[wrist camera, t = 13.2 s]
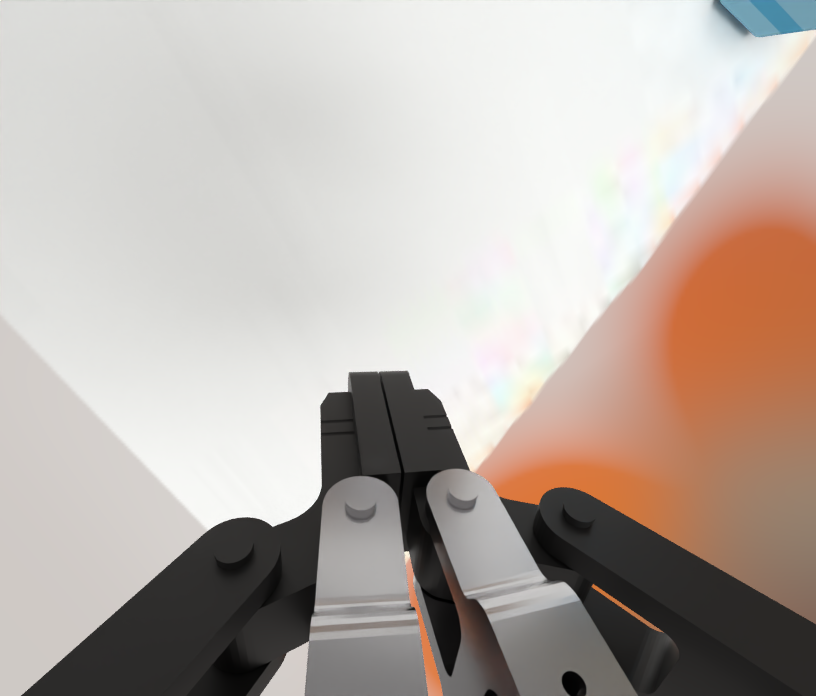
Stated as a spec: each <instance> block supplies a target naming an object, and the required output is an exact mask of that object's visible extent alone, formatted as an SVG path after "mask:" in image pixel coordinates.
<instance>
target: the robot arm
mask: <svg viewBox="0 0 816 696" xmlns="http://www.w3.org/2000/svg"><path fill="white" fill-rule="evenodd" d="M320 407H321V465H322V488H321V492H320V495H319V497H318V499H317V500H316V502H315V503H314V504H313V505H312V506H311V507H310V508H309V509H308V510H307V511H306V512H305V513H303V514H302V515H300V516H298V517H297V518H294V519H292V520H290V521H287V522H285V523H282V524H279V525H277V526H274V527H272V526H271V525H269V524H268V523H267V522H265V521H262V520H260V519H256V518H248V517H245V518H236V519H231V520H228V521H225V522H223V523H220V524H218V525H216V526H215V527H213V528H211V529H210V530H209V531H207V532H206V533H205V534H203V536H201V537H200V538H199V539H198V540H197V541H196V542H194V543H193V544H192V545H191V546H190V547H189V548H188V549H187V550H185V551H184V552H183V553H182V554H181V555H180V556H179V557H178V558H176V559H175V560H174V561H173V562H172V563H171V564H170V565H168V566H167V567H166V568H165V569H164V570H163V571H162V572H161V573H159V574H158V575H157V576H156V577H155V578H154V579H153V580H151V581H150V582H149V583H148V584H147V585H146V586H145V587H144V588H143V589H141V590H140V591H139V592H138V593H137V594H136V595H135V596H134V597H132V598H131V599H130V600H129V601H128V602H127V603H125V604H124V605H123V606H122V607H121V608H120V609H119V610H118V611H116V612H115V613H114V614H113V615H112V616H111V617H110V618H109V619H107V620H106V621H105V622H104V623H103V624H102V625H101V626H100V627H99V628H97V629H96V630H95V631H94V632H93V633H92V634H90V635H89V636H88V637H87V638H86V639H85V640H84V641H83V642H81V643H80V644H79V645H78V646H77V647H76V648H75V649H73V650H72V651H71V652H70V653H69V654H68V655H67V656H66V657H65V658H63V659H62V660H61V661H60V662H59V663H58V664H57V665H55V666H54V667H53V668H52V669H51V670H50V671H49V672H48V673H46V674H45V675H44V676H43V677H42V678H41V679H40V680H38V681H37V682H36V683H35V684H34V685H33V686H32V687H31V688H30V689H28V690H27V691H26V692H25V693H24V694H23V695H21V696H260V694H261V693H262V691H263V690H264V689H265V687H266V686H267V684H268V683H269V682H270V680H271V679H272V677H273V676H274V675H275V673H276V672H277V670H278V669H279V667H280V666H281V664H282V662H283V661H284V658H285V656H286V653H287V652H289V651H291V650H293V649H295V648H297V647H299V646H301V645H302V644H304V643H306V642H308V641H309V649H308V661H307V674H306V685H305V696H428V691H427V683H426V675H425V668H424V659H423V652H422V644H421V636H420V628H419V622H418V617H417V613H416V610H415V608H414V607H411V604H410V599H409V592H408V582H407V574H406V565H405V556H404V552H405V551H409V553H410V558H411V563H412V568H413V572H414V578H413V584H414V589H415V592H416V596H417V600H418V603H419V607H420V611H421V614H422V617H423V621H424V624H425V628H426V632H427V635H428V639H429V642H430V646H431V649H432V653H433V656H434V660H435V663H436V667H437V671H438V674H439V678H440V681H441V686H442V692H443V696H816V624H814V623H813V622H811V621H809V620H807V619H806V618H804V617H802V616H800V615H799V614H797V613H795V612H793V611H792V610H790V609H788V608H786V607H785V606H783V605H781V604H779V603H778V602H776V601H774V600H772V599H770V598H769V597H767V596H765V595H764V594H762V593H760V592H758V591H756V590H755V589H753V588H751V587H750V586H748V585H746V584H745V583H743V582H741V581H739V580H737V579H736V578H734V577H732V576H730V575H729V574H727V573H725V572H723V571H722V570H720V569H718V568H717V567H715V566H713V565H711V564H709V563H708V562H706V561H704V560H703V559H701V558H699V557H697V556H696V555H694V554H692V553H690V552H689V551H687V550H685V549H683V548H682V547H680V546H678V545H676V544H675V543H673V542H671V541H669V540H668V539H666V538H664V537H662V536H661V535H659V534H657V533H655V532H654V531H652V530H650V529H648V528H647V527H645V526H643V525H641V524H640V523H638V522H636V521H635V520H633V519H631V518H629V517H628V516H626V515H624V514H622V513H621V512H619V511H617V510H615V509H614V508H612V507H610V506H608V505H607V504H605V503H603V502H601V501H600V500H598V499H596V498H594V497H593V496H591V495H589V494H587V493H585V492H582V491H580V490H576V489H573V488H564V487H563V488H562V487H561V488H554V489H551V490H549V491H547V492H546V493H545V494H544V495H543V496H542V498H541V500H540V503H539V505H535V504H529V503H524V502H518V501H514V500H509V499H504V498H502V497H499V496H498V495H497V493H496V491H495V490H494V488H493V487H492V485H491V484H490V483H489V482H488V481H487V480H485V479H484V478H483V477H482V476H480V475H478V474H476V473H474V472H471V471H470V470H469V467H468V465H467V462H466V460H465V458H464V455H463V453H462V450H461V448H460V446H459V443H458V441H457V439H456V436H455V434H454V431H453V429H451V424H450V422H449V419H448V417H447V416H446V412H445V410H444V407H443V405H442V403H441V401H440V400H439V399H438V398H437V397H436V396H435V395H434V394H433V393H432V392H430V391H429V390H428V389H420V390H414V387H413V385H412V382H411V379H410V376H409V373H408V371H386V372H379V374H378V372H349V377H348V392H337V393H328V395H327V396H326V398H325V400H324V401H323V403H322V404H321V406H320ZM593 584H594V585H596V586H598V587H599V588H600V589H602V590H603V591H605V592H606V593H608V594H609V595H611V596H612V597H613V598H615V599H617V600H618V601H619V602H621V603H622V604H624V605H625V606H627V607H628V608H629V609H631V610H632V611H634V612H635V613H637V614H638V615H640V616H641V617H643V618H644V619H646V620H647V621H649V622H650V623H652V624H653V625H654V626H656V627H657V628H659V629H660V630H662V631H663V632H664V633H663V632H658V631H656V630H654V629H652V628H650V627H648V626H647V625H646V624H644V623H643V622H641V621H640V620H638V619H637V618H635V617H634V616H632V615H631V614H630V613H628V612H627V611H625V610H624V609H622V608H621V607H619V606H618V605H617V604H615V603H614V602H612V601H610V600H609V599H608V598H606V597H605V596H604V595H602V594H601V593H599V592H598V591H596V590H595V589H593V588H592V585H593Z"/></svg>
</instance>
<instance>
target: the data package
mask: <svg viewBox="0 0 816 696" xmlns="http://www.w3.org/2000/svg"><path fill="white" fill-rule="evenodd" d="M720 2H721V4H722V5H723V6H724V7H725V8H726V9H727V10H728V11H729V12H730V13H731V14H733V15H734V16H735V17H736V18H737V19H738V20H739V21H740V22H741V23H742V24H743V25H744V26H745V27H746V28H747V29H748V30H749V31H750V32H751V33H752V34H753V35H754V36H756V37H765V36H772V35H779V34H786V33H793V32H801V31H808V30H815V29H816V0H720Z"/></svg>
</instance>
